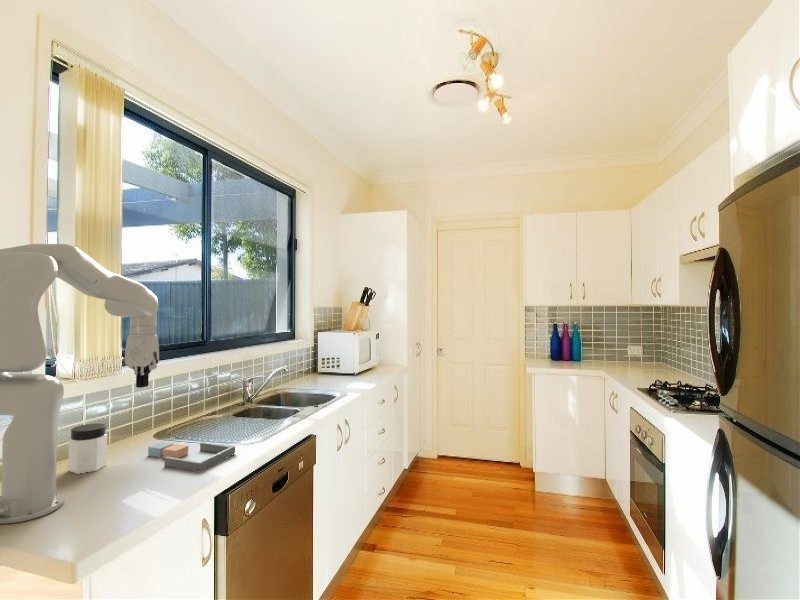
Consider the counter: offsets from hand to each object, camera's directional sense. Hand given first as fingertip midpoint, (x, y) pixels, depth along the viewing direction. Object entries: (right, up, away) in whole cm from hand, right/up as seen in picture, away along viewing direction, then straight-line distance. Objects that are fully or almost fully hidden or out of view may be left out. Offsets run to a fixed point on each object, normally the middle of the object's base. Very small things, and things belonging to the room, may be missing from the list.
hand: (142, 386), depth 136 cm
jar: (-6, -21, -15) cm, 27 cm away
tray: (+23, -21, -7) cm, 32 cm away
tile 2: (+14, -21, -5) cm, 26 cm away
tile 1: (+8, -21, -3) cm, 23 cm away
